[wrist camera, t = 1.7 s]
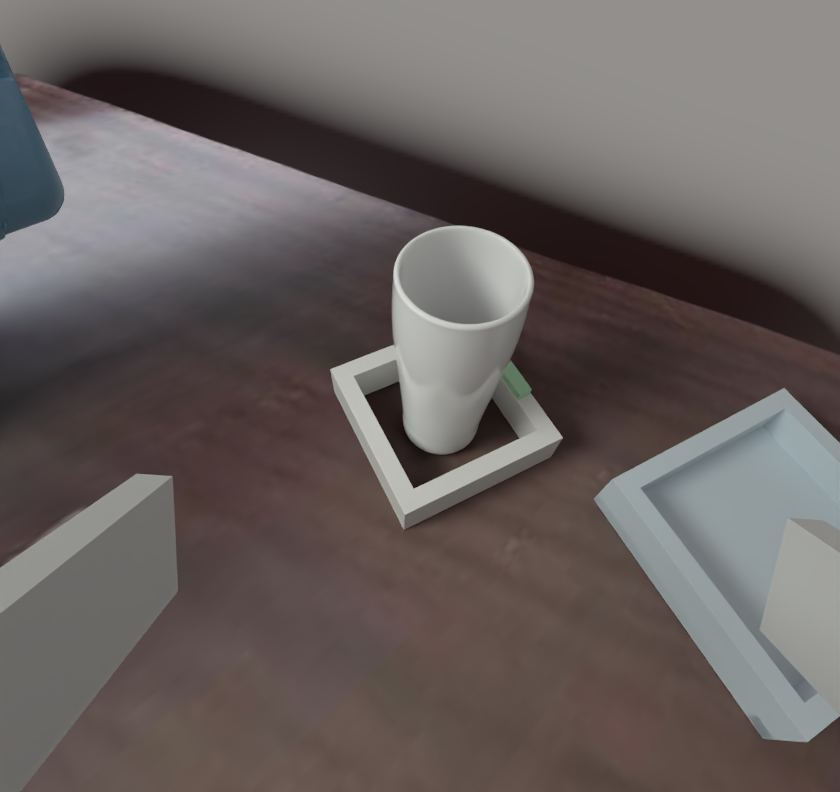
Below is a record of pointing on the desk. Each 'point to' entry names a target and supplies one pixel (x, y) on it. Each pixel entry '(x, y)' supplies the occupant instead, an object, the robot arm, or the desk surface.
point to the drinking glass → (455, 329)
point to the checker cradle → (459, 483)
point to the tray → (734, 545)
